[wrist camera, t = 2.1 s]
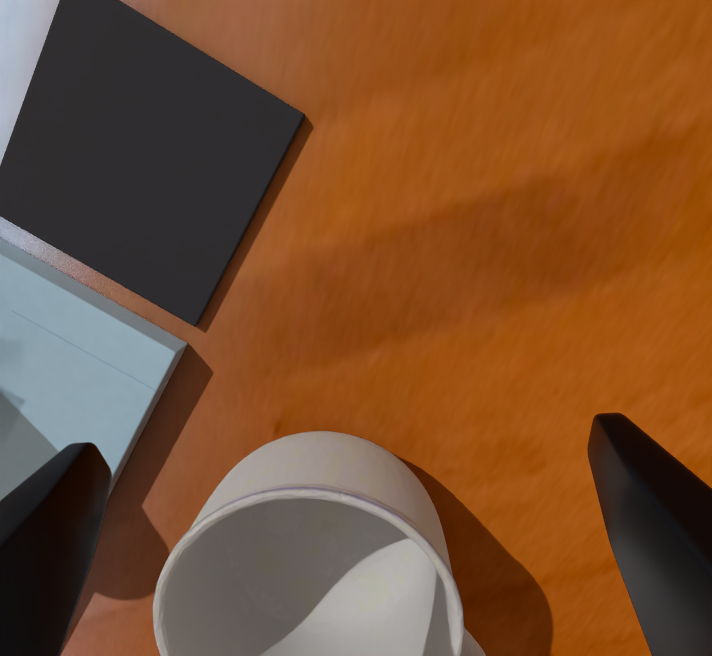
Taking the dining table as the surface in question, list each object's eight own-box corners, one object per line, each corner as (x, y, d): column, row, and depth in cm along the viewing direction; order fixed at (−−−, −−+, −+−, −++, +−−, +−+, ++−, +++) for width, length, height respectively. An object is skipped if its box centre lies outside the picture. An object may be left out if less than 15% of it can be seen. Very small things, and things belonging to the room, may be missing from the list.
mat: (198, 324, 24) (194, 327, 24) (-9, 207, 23) (-16, 207, 23) (306, 115, 21) (304, 114, 21) (76, -27, 20) (69, -30, 20)
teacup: (176, 495, 27) (87, 626, 19) (332, 351, 24) (301, 436, 16) (374, 668, 29) (366, 849, 21) (537, 553, 26) (596, 713, 18)
